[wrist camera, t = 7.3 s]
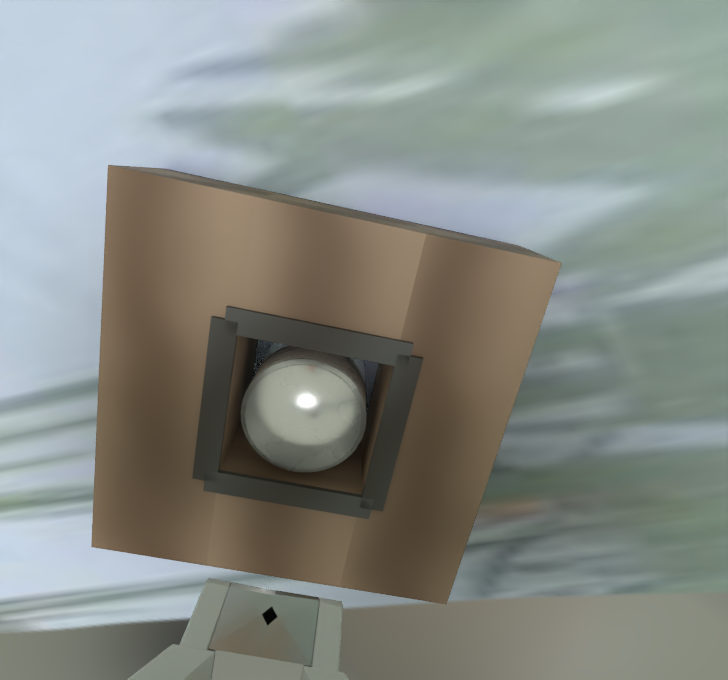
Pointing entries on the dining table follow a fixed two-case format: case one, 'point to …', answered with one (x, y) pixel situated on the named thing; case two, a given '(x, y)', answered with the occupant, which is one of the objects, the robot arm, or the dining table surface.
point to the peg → (305, 408)
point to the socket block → (315, 332)
